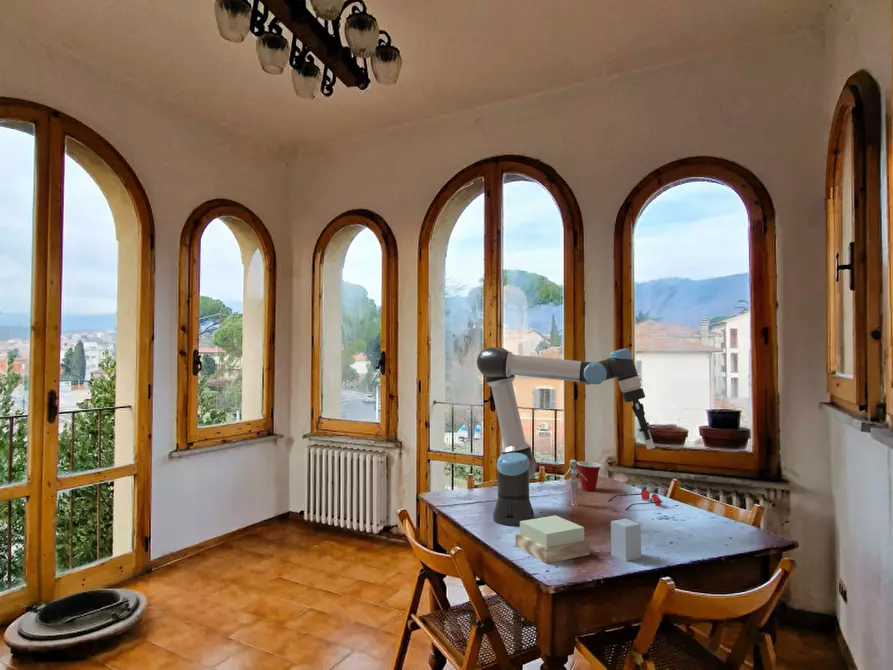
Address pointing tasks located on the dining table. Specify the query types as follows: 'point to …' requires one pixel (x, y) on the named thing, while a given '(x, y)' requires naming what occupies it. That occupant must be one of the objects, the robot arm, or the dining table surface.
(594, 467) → the plastic cup
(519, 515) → the robot arm
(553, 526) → the top brick
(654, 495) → the glasses
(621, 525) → the tall brick
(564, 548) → the base brick
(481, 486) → the dining table surface
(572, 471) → the human figurine
